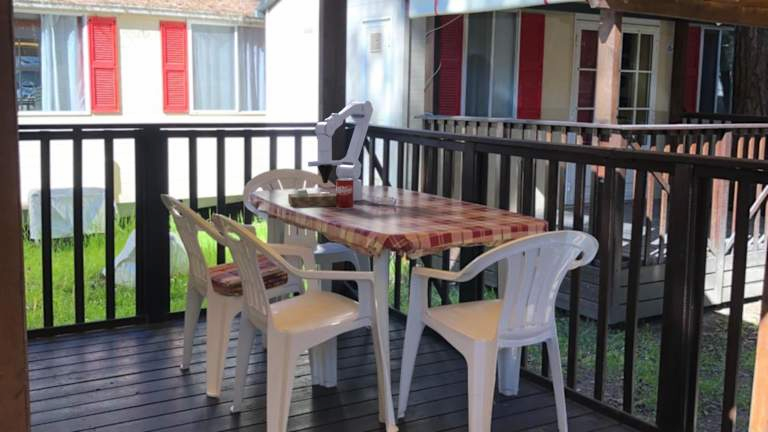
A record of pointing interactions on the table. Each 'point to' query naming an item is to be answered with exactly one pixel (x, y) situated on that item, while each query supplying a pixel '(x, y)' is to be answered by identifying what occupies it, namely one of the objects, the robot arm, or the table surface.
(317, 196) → the button panel
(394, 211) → the table surface
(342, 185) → the soda can
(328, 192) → the cream button
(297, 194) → the sage button
